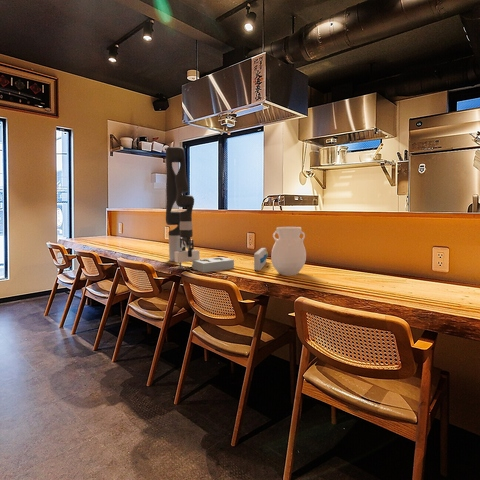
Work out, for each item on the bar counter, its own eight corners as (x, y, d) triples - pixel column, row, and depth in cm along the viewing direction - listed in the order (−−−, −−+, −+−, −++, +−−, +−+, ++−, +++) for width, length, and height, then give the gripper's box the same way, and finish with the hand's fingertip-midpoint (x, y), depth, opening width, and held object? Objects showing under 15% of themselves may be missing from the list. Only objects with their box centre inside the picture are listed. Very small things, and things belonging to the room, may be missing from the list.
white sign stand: (174, 268, 205) (174, 251, 203) (196, 265, 212) (195, 249, 211) (178, 269, 200) (177, 252, 199) (199, 266, 208) (199, 250, 207)
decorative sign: (260, 271, 192) (260, 253, 191) (254, 271, 193) (253, 253, 192) (269, 261, 224) (269, 246, 222) (263, 261, 224) (263, 246, 223)
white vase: (308, 271, 191) (308, 226, 188) (303, 278, 173) (303, 228, 171) (275, 269, 197) (275, 225, 194) (267, 276, 180) (267, 228, 177)
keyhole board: (192, 268, 203) (192, 260, 202) (221, 264, 214) (221, 256, 213) (203, 272, 191) (203, 263, 191) (233, 268, 202) (233, 259, 202)
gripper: (175, 228, 208) (176, 255, 209) (185, 229, 196) (186, 258, 197) (186, 228, 212) (187, 254, 213) (197, 229, 200) (197, 256, 201)
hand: (186, 256), depth 205 cm, fingers open, 8 cm apart
